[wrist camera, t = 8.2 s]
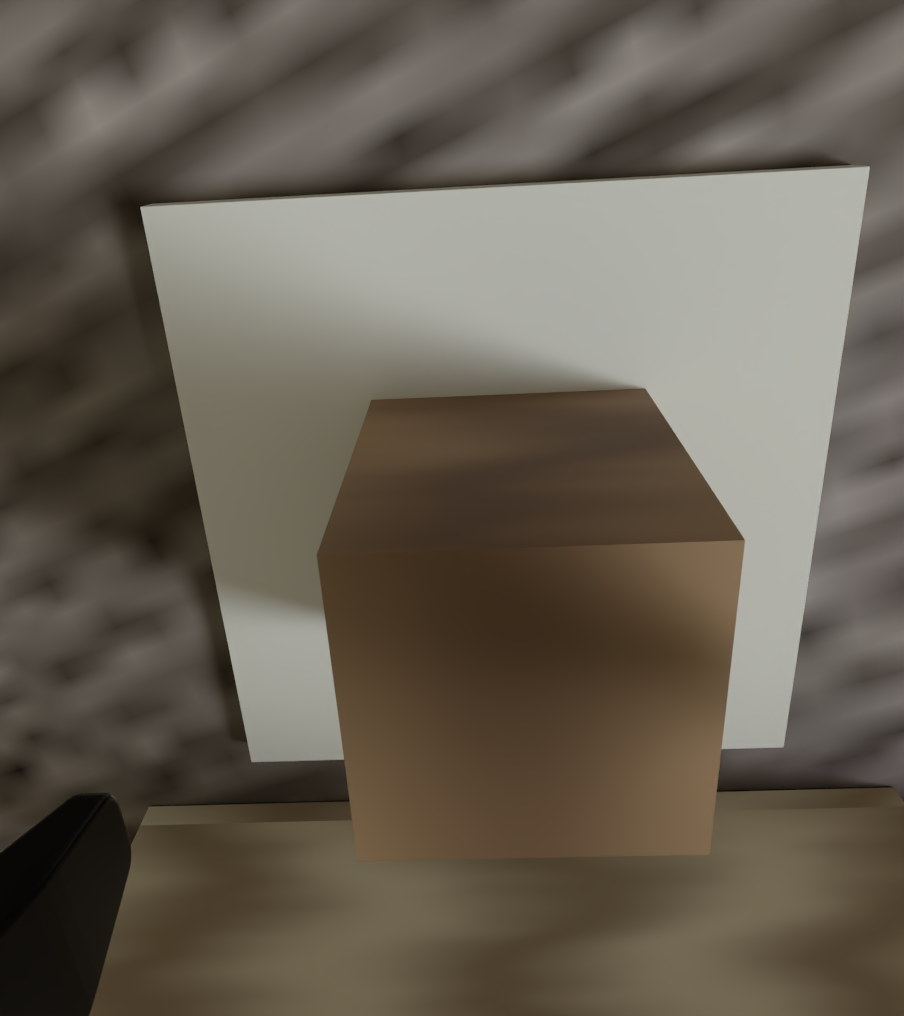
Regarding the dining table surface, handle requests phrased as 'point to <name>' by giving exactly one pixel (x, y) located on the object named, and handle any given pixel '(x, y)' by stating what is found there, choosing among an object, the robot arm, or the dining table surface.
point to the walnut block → (529, 629)
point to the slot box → (514, 919)
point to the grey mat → (503, 376)
